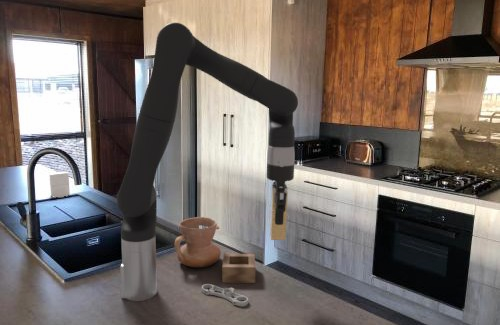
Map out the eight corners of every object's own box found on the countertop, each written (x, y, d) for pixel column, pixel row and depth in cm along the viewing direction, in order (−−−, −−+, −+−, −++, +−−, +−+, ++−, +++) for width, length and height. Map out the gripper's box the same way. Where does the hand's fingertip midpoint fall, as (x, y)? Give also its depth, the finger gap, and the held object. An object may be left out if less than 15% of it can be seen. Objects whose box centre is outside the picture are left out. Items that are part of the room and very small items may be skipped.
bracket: (230, 307, 108) (199, 285, 119) (230, 314, 108) (199, 291, 119) (252, 298, 113) (220, 277, 124) (252, 305, 113) (220, 283, 124)
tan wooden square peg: (271, 239, 115) (273, 191, 112) (270, 234, 118) (271, 187, 116) (285, 240, 115) (287, 191, 112) (284, 235, 119) (286, 188, 116)
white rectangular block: (66, 192, 223) (65, 170, 221) (72, 195, 217) (70, 173, 214) (49, 194, 218) (47, 172, 215) (53, 198, 211) (52, 175, 209)
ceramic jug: (206, 249, 149) (205, 211, 146) (232, 261, 139) (231, 221, 136) (163, 264, 137) (161, 223, 134) (188, 278, 127) (186, 235, 124)
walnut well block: (222, 282, 124) (222, 267, 123) (223, 268, 134) (223, 253, 133) (255, 282, 124) (255, 267, 123) (254, 268, 134) (254, 253, 133)
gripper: (265, 157, 119) (263, 213, 123) (268, 166, 105) (266, 230, 109) (291, 157, 120) (288, 214, 123) (297, 167, 106) (294, 230, 109)
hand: (278, 221), depth 116 cm, fingers closed on tan wooden square peg, 4 cm apart
